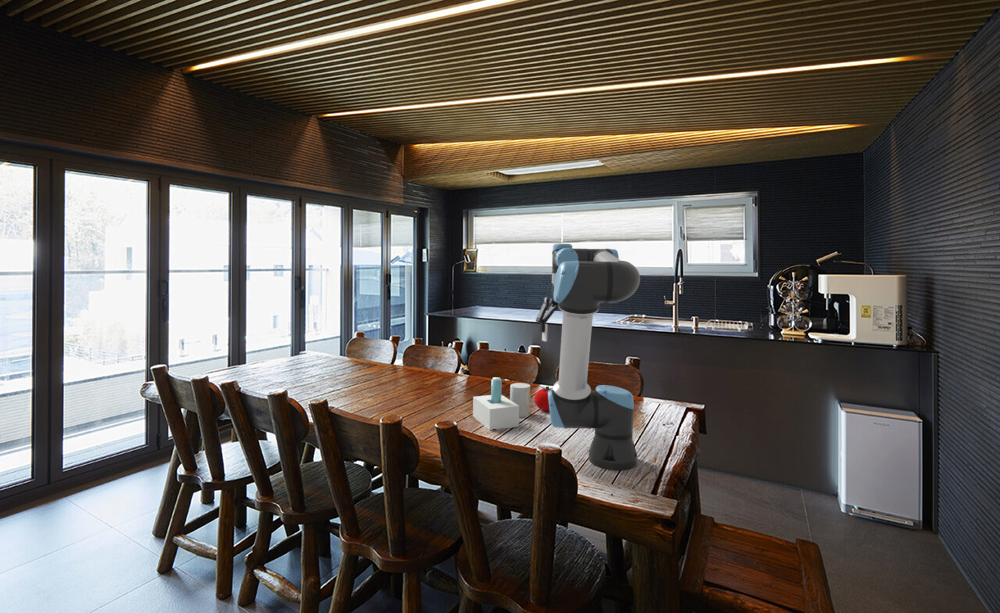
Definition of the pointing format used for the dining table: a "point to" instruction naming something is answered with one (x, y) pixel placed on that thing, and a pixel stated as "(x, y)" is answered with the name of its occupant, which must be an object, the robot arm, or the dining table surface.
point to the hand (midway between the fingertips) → (560, 340)
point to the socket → (496, 412)
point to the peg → (496, 390)
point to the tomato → (542, 398)
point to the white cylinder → (521, 397)
